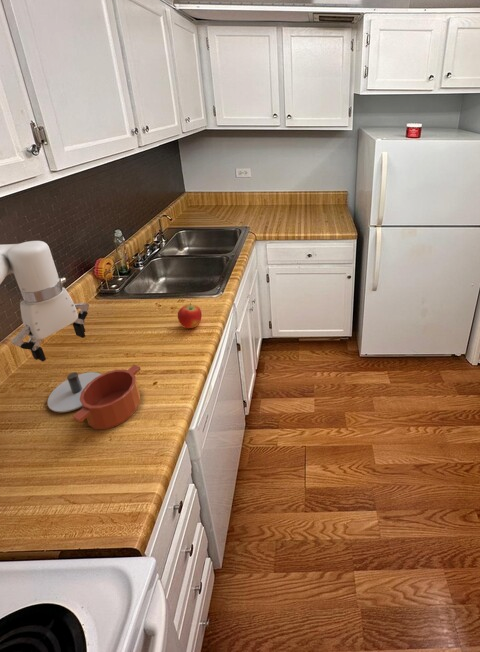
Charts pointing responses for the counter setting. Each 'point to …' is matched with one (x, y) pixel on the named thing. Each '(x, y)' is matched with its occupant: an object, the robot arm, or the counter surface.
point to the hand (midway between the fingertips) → (62, 347)
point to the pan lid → (70, 392)
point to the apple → (189, 316)
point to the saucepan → (110, 399)
